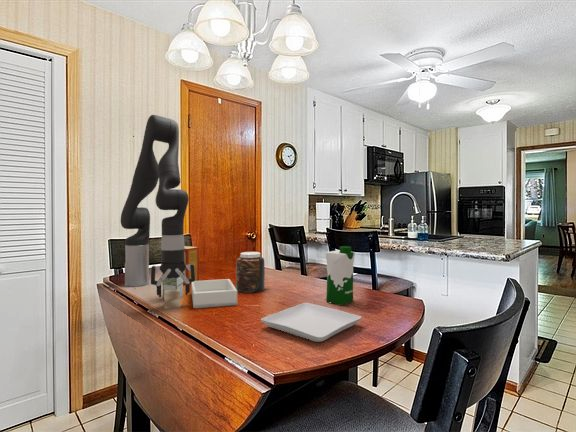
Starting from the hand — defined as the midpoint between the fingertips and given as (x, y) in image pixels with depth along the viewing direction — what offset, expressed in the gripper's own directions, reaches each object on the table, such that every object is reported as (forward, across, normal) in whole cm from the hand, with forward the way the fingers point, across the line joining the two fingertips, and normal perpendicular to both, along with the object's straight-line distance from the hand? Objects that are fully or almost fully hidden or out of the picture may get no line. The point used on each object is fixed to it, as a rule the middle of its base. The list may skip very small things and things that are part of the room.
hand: (173, 295), depth 118 cm
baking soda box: (+4, -5, -36) cm, 37 cm away
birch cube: (+4, 0, 0) cm, 4 cm away
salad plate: (+5, -38, +33) cm, 50 cm away
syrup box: (+4, 0, -11) cm, 12 cm away
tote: (+4, -14, -5) cm, 15 cm away
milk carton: (+4, -57, +12) cm, 58 cm away
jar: (+4, -30, -15) cm, 34 cm away
